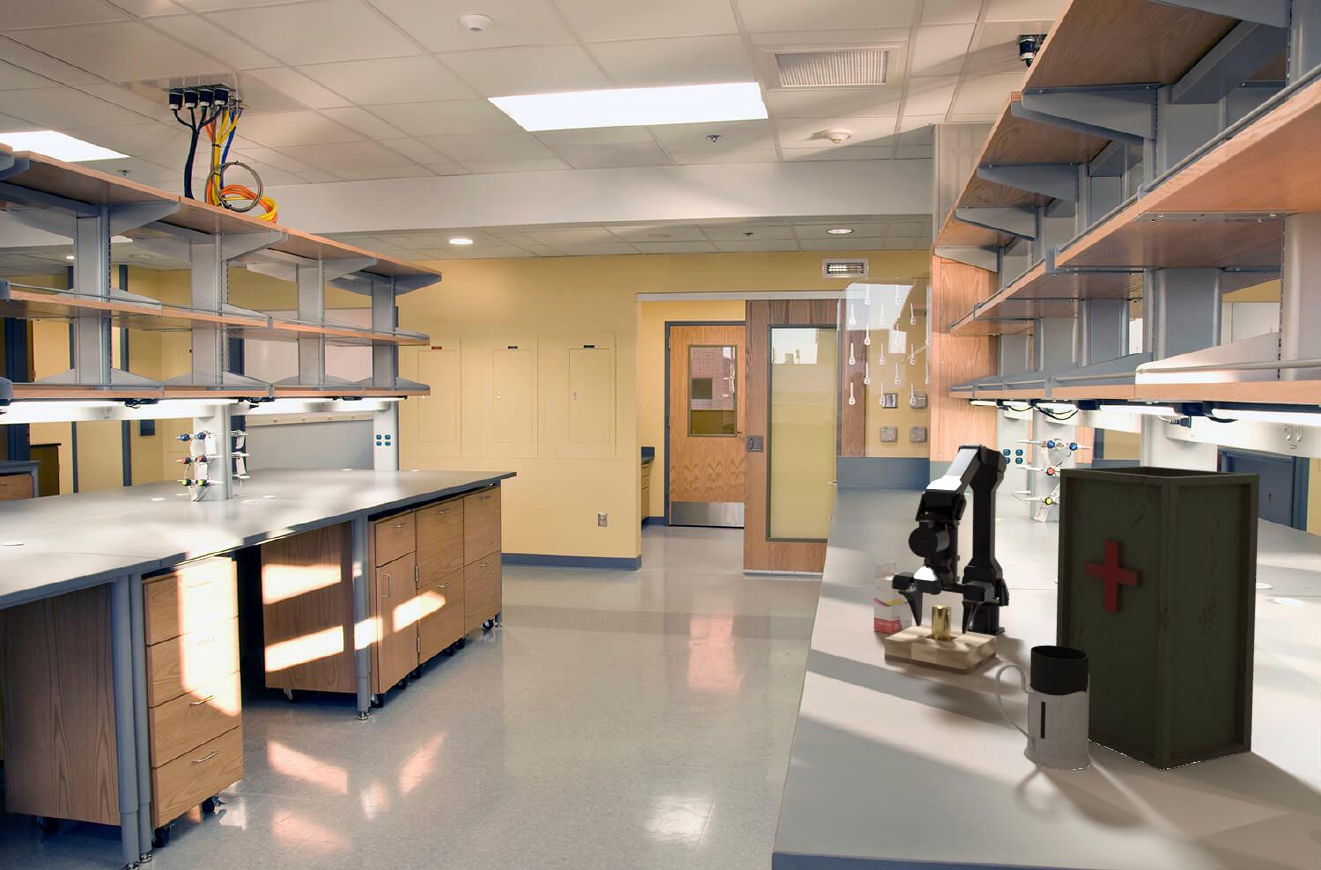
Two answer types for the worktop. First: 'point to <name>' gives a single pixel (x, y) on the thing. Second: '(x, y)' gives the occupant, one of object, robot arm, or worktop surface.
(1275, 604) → the worktop surface
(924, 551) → the robot arm
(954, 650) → the bore block
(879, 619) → the ink cartridge box
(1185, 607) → the first aid box
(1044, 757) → the glass holder
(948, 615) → the pin
